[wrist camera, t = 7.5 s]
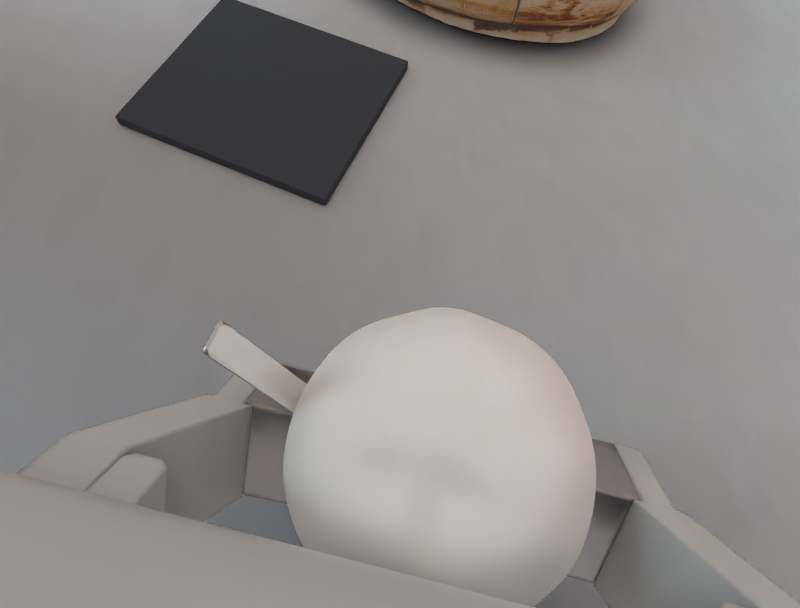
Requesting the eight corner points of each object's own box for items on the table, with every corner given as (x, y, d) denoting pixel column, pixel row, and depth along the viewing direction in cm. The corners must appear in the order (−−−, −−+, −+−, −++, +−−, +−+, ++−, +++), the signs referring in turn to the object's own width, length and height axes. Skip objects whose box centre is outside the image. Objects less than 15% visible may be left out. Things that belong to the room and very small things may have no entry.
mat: (119, 124, 20) (114, 116, 19) (226, 3, 23) (224, -5, 22) (325, 206, 19) (324, 199, 18) (407, 68, 22) (408, 60, 22)
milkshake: (350, 385, 16) (294, 190, 7) (512, 447, 15) (689, 320, 6) (286, 531, 14) (96, 527, 5) (466, 609, 13) (620, 770, 4)
